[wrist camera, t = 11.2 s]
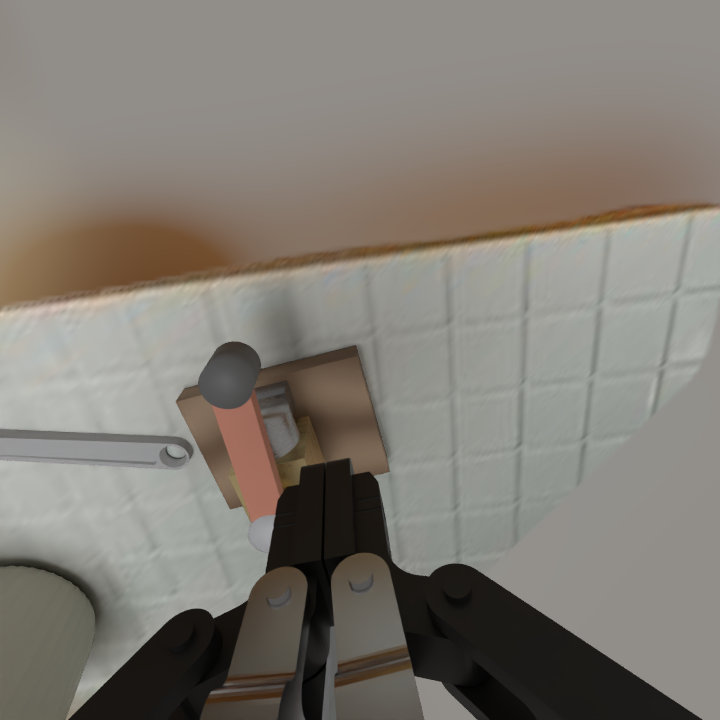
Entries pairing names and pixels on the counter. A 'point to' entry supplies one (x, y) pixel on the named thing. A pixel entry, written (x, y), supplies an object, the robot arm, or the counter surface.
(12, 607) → the canister
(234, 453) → the valve lever
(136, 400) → the counter surface
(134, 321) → the counter surface
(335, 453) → the mounting board
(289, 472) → the pipe valve
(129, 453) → the adjustable wrench
